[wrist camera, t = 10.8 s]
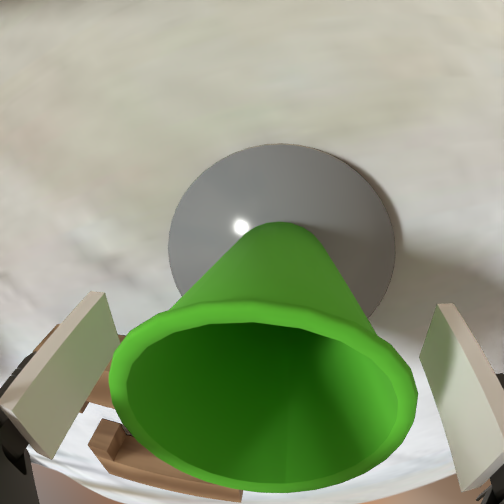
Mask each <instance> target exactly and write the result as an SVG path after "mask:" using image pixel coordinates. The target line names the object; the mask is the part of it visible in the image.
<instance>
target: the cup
mask: <svg viewBox="0 0 504 504" xmlns="http://www.w3.org/2000/svg"><path fill="white" fill-rule="evenodd" d="M109 387H110V393H111V399H112V404H113V406H114V408H115V410H116V412H117V414H118V416H119V418H120V420H121V422H122V423H123V425H124V426H125V427H126V428H127V429H128V431H129V432H130V433H131V434H132V435H133V437H134V438H135V439H136V440H137V441H138V442H139V443H140V444H141V445H143V446H144V447H145V448H146V449H147V450H149V451H150V452H151V453H152V454H154V455H155V456H156V457H157V458H159V459H161V460H162V461H164V462H166V463H167V464H169V465H171V466H172V467H174V468H176V469H178V470H179V471H182V472H184V473H186V474H189V475H191V476H193V477H196V478H198V479H201V480H203V481H206V482H209V483H213V484H217V485H220V486H224V487H228V488H232V489H238V490H245V491H252V492H263V493H291V492H301V491H309V490H316V489H320V488H324V487H328V486H332V485H336V484H340V483H343V482H345V481H348V480H350V479H352V478H355V477H357V476H360V475H362V474H364V473H366V472H367V471H369V470H371V469H372V468H374V467H375V466H377V465H378V464H380V463H382V462H383V461H385V460H386V459H387V458H388V457H389V456H390V455H391V454H392V453H393V452H394V451H395V450H396V449H397V448H398V447H399V446H400V445H401V444H402V442H403V441H404V439H405V437H406V435H407V434H408V432H409V430H410V428H411V426H412V424H413V422H414V418H415V413H416V406H417V399H418V391H417V388H416V384H415V381H414V377H413V374H412V371H411V368H410V367H409V366H408V365H407V363H406V362H405V361H404V360H403V359H402V357H401V356H400V355H399V354H398V352H397V351H396V350H395V349H394V348H393V346H392V345H391V344H390V343H388V342H386V341H385V340H383V339H382V338H380V337H379V336H377V334H376V333H375V331H374V329H373V327H372V326H371V324H370V322H369V321H368V319H367V317H366V315H365V314H364V312H363V310H362V309H361V307H360V305H359V304H358V302H357V300H356V299H355V297H354V295H353V294H352V292H351V290H350V289H349V287H348V285H347V284H346V282H345V280H344V279H343V277H342V276H341V274H340V272H339V271H338V269H337V268H336V266H335V264H334V263H333V261H332V260H331V258H330V256H329V255H328V253H327V252H326V250H325V248H324V247H323V245H322V244H321V242H320V241H319V240H318V239H317V238H316V237H315V236H314V234H312V233H311V232H309V231H308V230H306V229H305V228H303V227H301V226H298V225H296V224H293V223H287V222H280V221H279V222H269V223H265V224H262V225H259V226H256V227H254V228H253V229H251V230H250V231H248V232H247V233H245V234H244V235H243V236H242V237H241V238H240V239H239V240H238V241H237V242H236V243H235V244H234V245H233V246H232V247H231V248H230V249H229V250H228V251H227V252H226V253H225V254H224V255H223V256H222V257H221V258H220V259H219V260H218V261H217V262H216V263H215V264H214V265H213V266H212V267H211V268H210V269H209V270H208V271H207V272H206V273H205V274H204V275H203V276H202V277H201V278H200V279H199V280H198V281H197V282H196V283H195V284H194V285H193V286H192V287H191V288H190V289H189V290H188V291H187V292H186V293H185V294H184V295H183V296H182V297H181V298H180V299H179V300H178V302H177V303H176V304H175V305H174V306H173V307H172V308H171V309H170V310H169V311H165V312H162V313H158V314H157V315H155V316H153V317H152V318H150V319H149V320H147V321H145V322H144V323H142V324H141V325H139V326H137V327H136V328H134V329H132V330H131V331H130V332H129V333H128V334H127V335H126V337H125V338H124V339H123V341H122V342H121V343H120V345H119V346H118V347H117V349H116V350H115V351H114V354H113V358H112V362H111V367H110V371H109Z"/></svg>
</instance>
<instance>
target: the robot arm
mask: <svg viewBox="0 0 504 504" xmlns="http://www.w3.org/2000/svg"><path fill="white" fill-rule="evenodd" d="M119 345H120V340H119V337H118V334H117V331H116V328H115V325H114V322H113V318H112V315H111V312H110V309H109V305H108V302H107V298H106V295H105V293H103V292H93V291H90V292H89V293H88V294H87V296H86V297H85V298H84V299H83V300H82V301H81V302H80V303H79V304H78V305H77V306H76V307H75V309H74V310H73V311H72V312H71V313H70V314H69V315H68V316H67V318H66V319H65V320H64V321H63V322H62V323H61V324H60V325H59V327H58V328H57V329H56V330H55V331H54V332H53V333H52V335H51V336H50V337H49V338H48V339H47V340H46V342H45V343H44V344H43V345H42V346H41V348H40V349H39V350H38V351H34V352H33V353H31V354H30V355H29V356H27V357H26V358H24V360H23V361H22V362H21V363H20V365H19V366H18V367H17V369H15V371H14V372H13V373H12V376H10V377H9V378H8V379H7V381H6V382H5V383H4V384H3V386H2V387H1V388H0V504H39V499H38V496H37V491H36V486H35V482H34V477H33V472H32V466H31V461H30V455H29V452H28V450H27V449H26V447H27V446H28V444H30V445H31V447H32V448H33V449H34V450H35V451H36V452H37V453H39V454H41V455H43V456H45V457H47V458H49V459H51V460H52V459H53V457H54V456H55V454H56V452H57V450H58V448H59V447H60V445H61V443H62V441H63V439H64V438H65V436H66V434H67V432H68V430H69V429H70V427H71V425H72V423H73V422H74V420H75V418H76V417H77V415H78V413H79V411H80V410H81V408H82V406H83V405H84V403H85V401H86V400H87V398H88V396H89V395H90V393H91V391H92V390H93V388H94V386H95V385H96V383H97V381H98V380H99V378H100V376H101V375H102V373H103V371H104V370H105V368H106V367H107V365H108V363H109V362H110V360H111V359H112V357H113V354H114V351H115V350H116V349H117V347H118V346H119ZM419 358H420V361H421V363H422V366H423V369H424V371H425V374H426V377H427V379H428V382H429V385H430V388H431V391H432V393H433V396H434V399H435V402H436V405H437V408H438V411H439V414H440V417H441V420H442V424H443V427H444V430H445V433H446V437H447V440H448V443H449V447H450V450H451V454H452V457H453V461H454V465H455V469H456V473H457V477H458V481H459V485H460V489H461V492H465V491H468V490H471V489H475V488H478V487H480V486H482V485H483V484H484V483H485V482H486V481H487V480H488V479H489V478H490V481H491V484H492V485H491V486H489V487H488V488H487V489H486V490H485V491H484V492H483V493H481V494H480V495H479V496H478V497H477V499H476V501H479V500H480V499H481V498H483V497H484V498H483V500H482V502H481V504H504V374H503V373H500V374H495V373H494V371H493V369H492V367H491V365H490V363H489V362H488V360H487V358H486V356H485V354H484V353H483V351H482V349H481V347H480V346H479V344H478V342H477V341H476V339H475V337H474V336H473V334H472V332H471V331H470V329H469V327H468V326H467V324H466V323H465V321H464V319H463V318H462V316H461V315H460V313H459V312H458V310H457V308H456V307H455V305H454V304H453V303H444V304H437V305H436V308H435V312H434V315H433V318H432V321H431V324H430V327H429V330H428V333H427V336H426V339H425V342H424V345H423V348H422V351H421V353H420V356H419Z"/></svg>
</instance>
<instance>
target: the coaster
mask: <svg viewBox="0 0 504 504" xmlns="http://www.w3.org/2000/svg"><path fill="white" fill-rule="evenodd" d="M279 221H280V222H287V223H293V224H296V225H298V226H301V227H303V228H305V229H306V230H308V231H309V232H311V233H312V234H314V236H315V237H316V238H317V239H318V240H319V241H320V242H321V244H322V245H323V247H324V248H325V250H326V252H327V253H328V255H329V256H330V258H331V260H332V261H333V263H334V264H335V266H336V268H337V269H338V271H339V272H340V274H341V276H342V277H343V279H344V280H345V282H346V284H347V285H348V287H349V289H350V290H351V292H352V294H353V295H354V297H355V299H356V300H357V302H358V304H359V305H360V307H361V309H362V310H363V312H364V314H365V315H366V317H367V318H368V317H369V316H370V315H371V314H372V313H373V311H374V310H375V309H376V307H377V306H378V305H379V303H380V302H381V300H382V298H383V296H384V294H385V293H386V290H387V288H388V285H389V283H390V280H391V276H392V272H393V268H394V260H395V240H394V234H393V229H392V225H391V222H390V219H389V216H388V213H387V211H386V209H385V207H384V205H383V203H382V201H381V200H380V198H379V196H378V195H377V194H376V192H375V191H374V190H373V188H372V187H371V186H370V184H369V183H368V182H367V181H366V180H365V179H364V178H363V177H362V176H361V175H360V174H359V173H358V172H356V171H355V170H354V169H353V168H351V167H350V166H349V165H347V164H346V163H345V162H343V161H341V160H340V159H338V158H336V157H334V156H332V155H330V154H328V153H325V152H323V151H320V150H317V149H315V148H311V147H306V146H302V145H296V144H283V143H279V144H264V145H259V146H255V147H250V148H247V149H244V150H241V151H238V152H235V153H233V154H231V155H229V156H227V157H225V158H224V159H222V160H220V161H218V162H217V163H215V164H214V165H213V166H211V167H210V168H208V169H207V170H206V171H204V172H203V173H202V174H201V175H200V176H199V177H198V178H197V179H196V180H195V181H194V182H193V183H192V184H191V186H190V187H189V188H188V190H187V191H186V192H185V194H184V195H183V197H182V199H181V201H180V202H179V204H178V206H177V208H176V211H175V214H174V216H173V219H172V223H171V227H170V232H169V243H168V251H169V262H170V267H171V271H172V275H173V278H174V281H175V283H176V286H177V288H178V290H179V292H180V294H181V296H183V295H184V294H185V293H186V292H187V291H188V290H189V289H190V288H191V287H192V286H193V285H194V284H195V283H196V282H197V281H198V280H199V279H200V278H201V277H202V276H203V275H204V274H205V273H206V272H207V271H208V270H209V269H210V268H211V267H212V266H213V265H214V264H215V263H216V262H217V261H218V260H219V259H220V258H221V257H222V256H223V255H224V254H225V253H226V252H227V251H228V250H229V249H230V248H231V247H232V246H233V245H234V244H235V243H236V242H237V241H238V240H239V239H240V238H241V237H242V236H243V235H244V234H245V233H247V232H248V231H250V230H251V229H253V228H254V227H256V226H259V225H262V224H265V223H269V222H279Z"/></svg>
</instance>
